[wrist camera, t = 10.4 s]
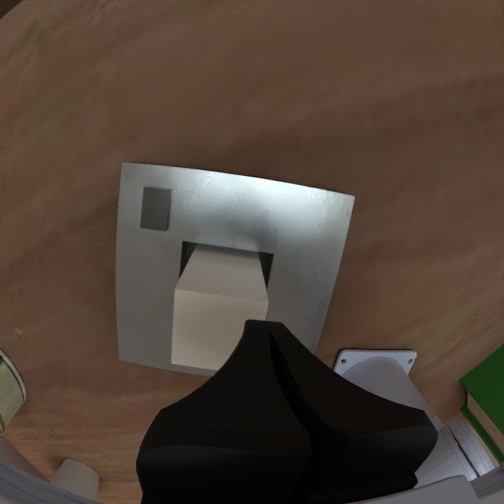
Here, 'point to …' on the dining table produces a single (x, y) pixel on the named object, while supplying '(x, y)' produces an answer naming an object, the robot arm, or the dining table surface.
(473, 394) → the hardback book
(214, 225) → the socket
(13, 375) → the coffee can
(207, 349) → the plug
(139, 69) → the dining table surface
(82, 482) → the dixie cup
